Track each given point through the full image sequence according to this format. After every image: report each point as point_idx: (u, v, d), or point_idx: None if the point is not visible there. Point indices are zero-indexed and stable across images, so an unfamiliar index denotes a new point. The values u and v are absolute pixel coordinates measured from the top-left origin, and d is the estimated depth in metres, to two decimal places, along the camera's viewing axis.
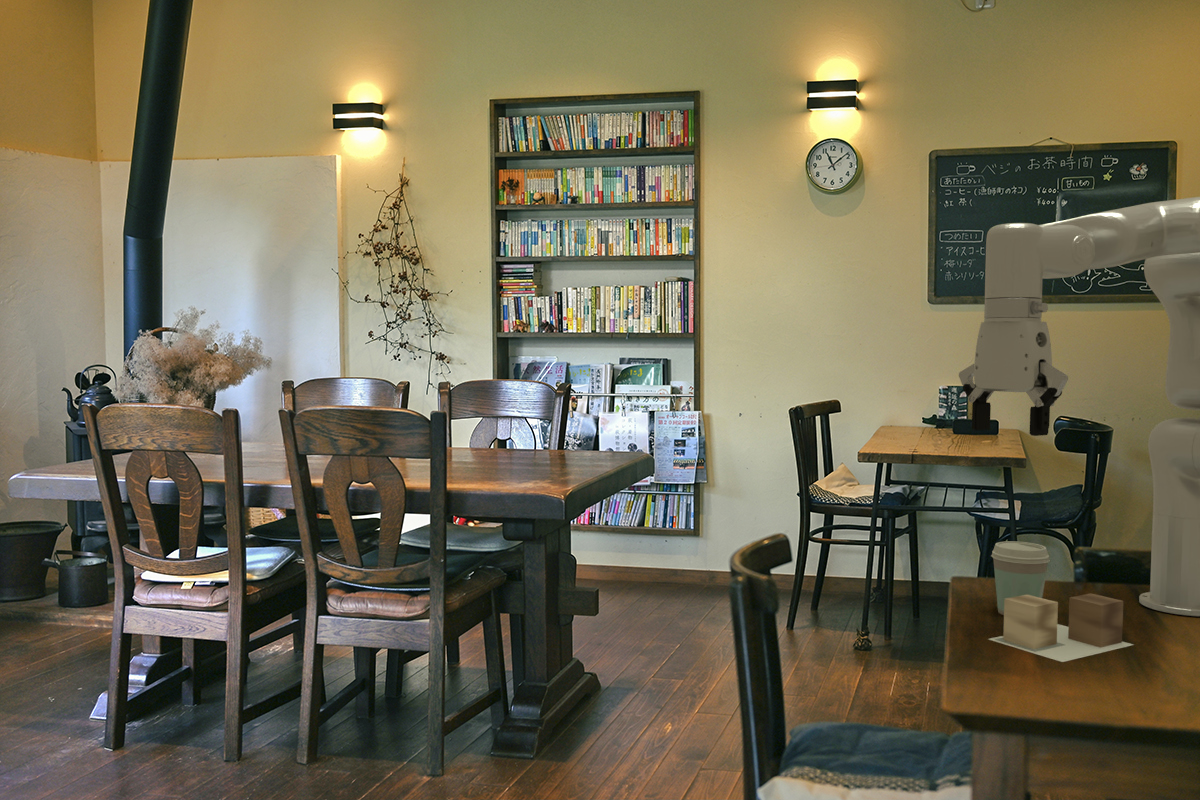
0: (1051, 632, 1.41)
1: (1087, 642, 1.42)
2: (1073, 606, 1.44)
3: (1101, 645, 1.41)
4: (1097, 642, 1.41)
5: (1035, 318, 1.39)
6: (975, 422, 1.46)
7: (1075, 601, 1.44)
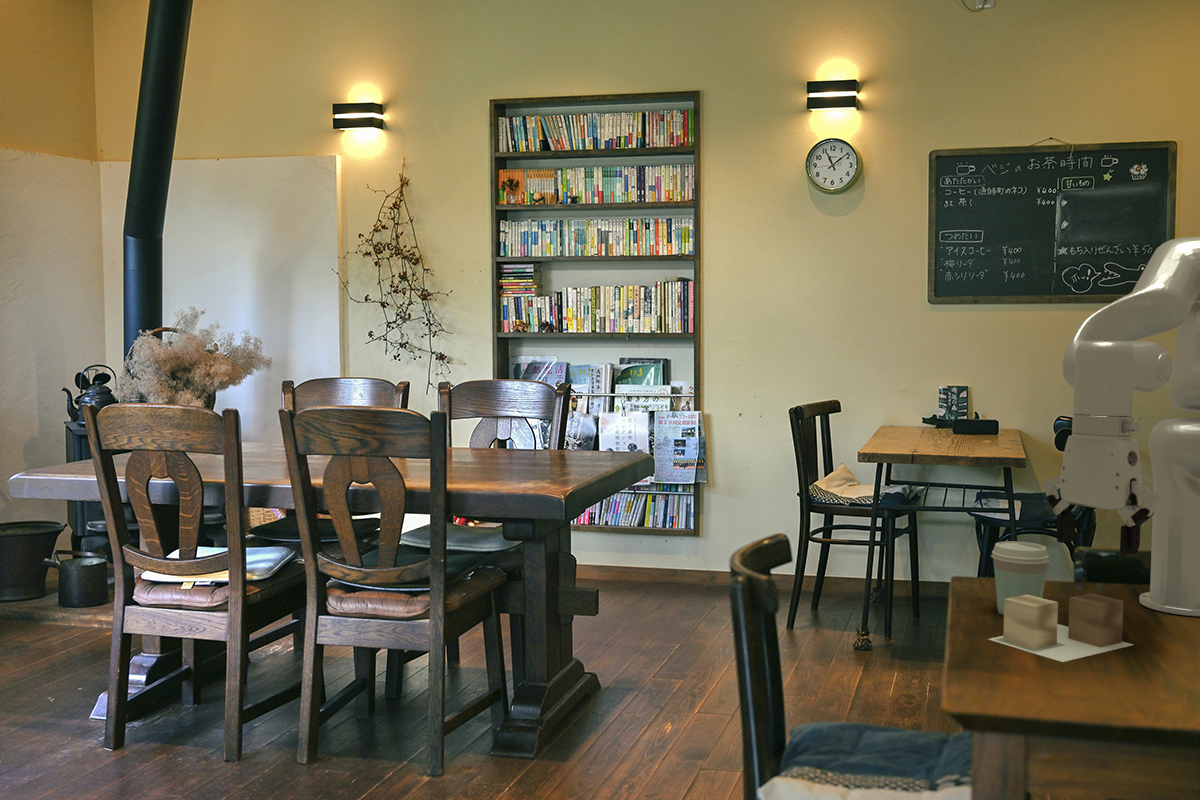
0: (1051, 632, 1.41)
1: (1087, 642, 1.42)
2: (1073, 606, 1.44)
3: (1101, 645, 1.41)
4: (1097, 642, 1.41)
5: (1126, 436, 1.39)
6: (1061, 535, 1.46)
7: (1075, 601, 1.44)
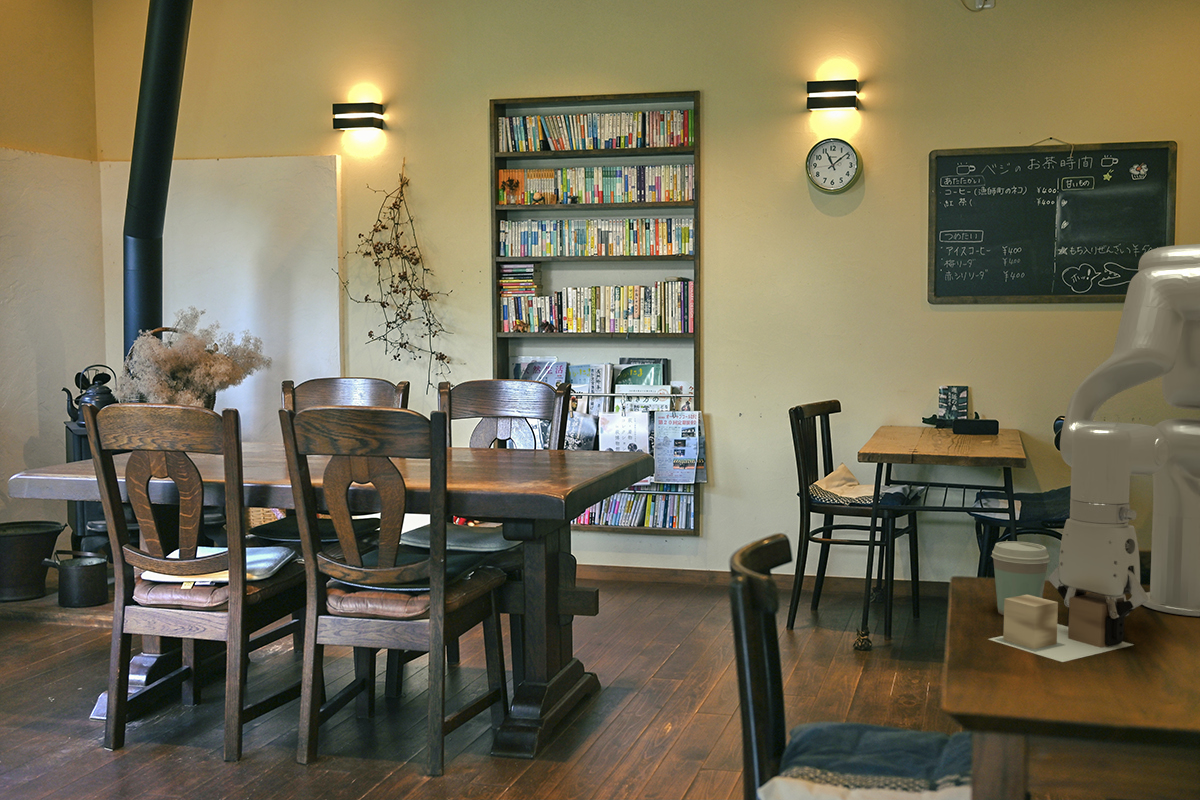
0: (1051, 632, 1.41)
1: (1087, 642, 1.42)
2: (1073, 606, 1.44)
3: (1101, 645, 1.41)
4: (1097, 642, 1.41)
5: (1123, 524, 1.40)
6: None
7: (1075, 601, 1.44)
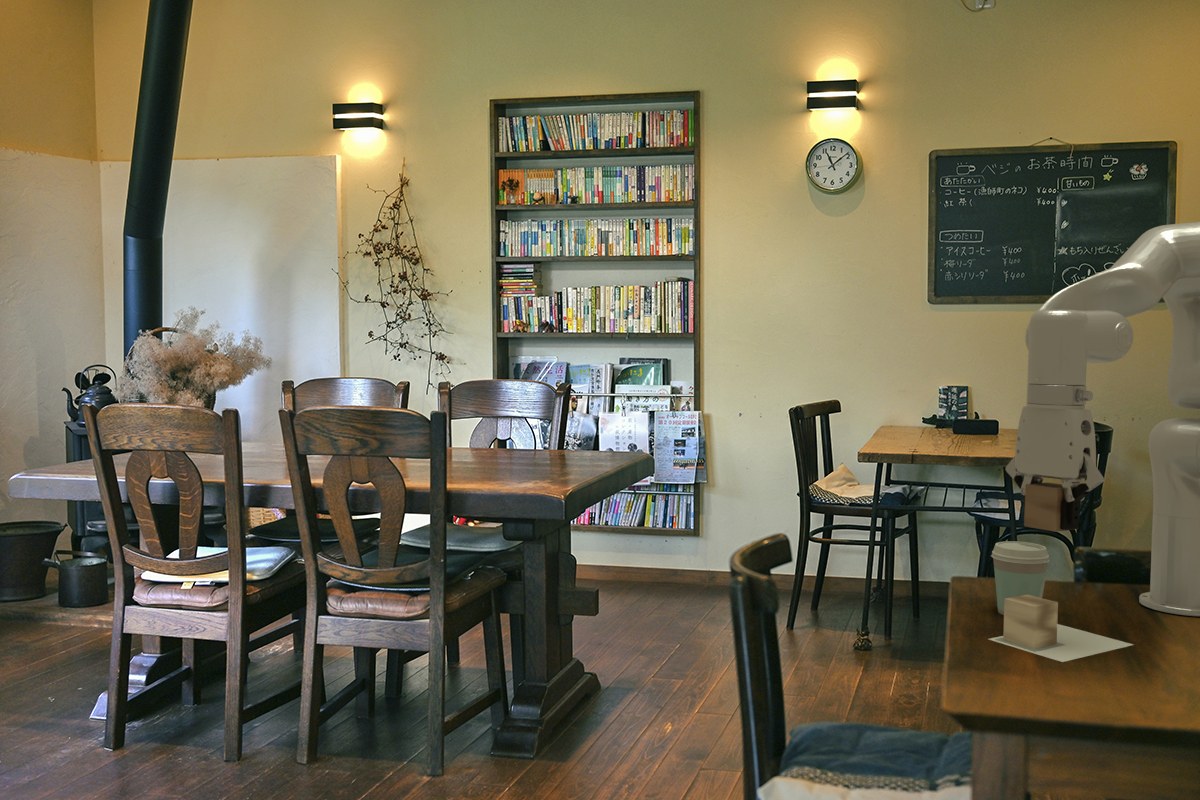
0: (1051, 632, 1.41)
1: (1043, 528, 1.40)
2: (1029, 492, 1.42)
3: (1056, 529, 1.39)
4: (1053, 526, 1.39)
5: (1079, 406, 1.38)
6: None
7: (1031, 487, 1.42)
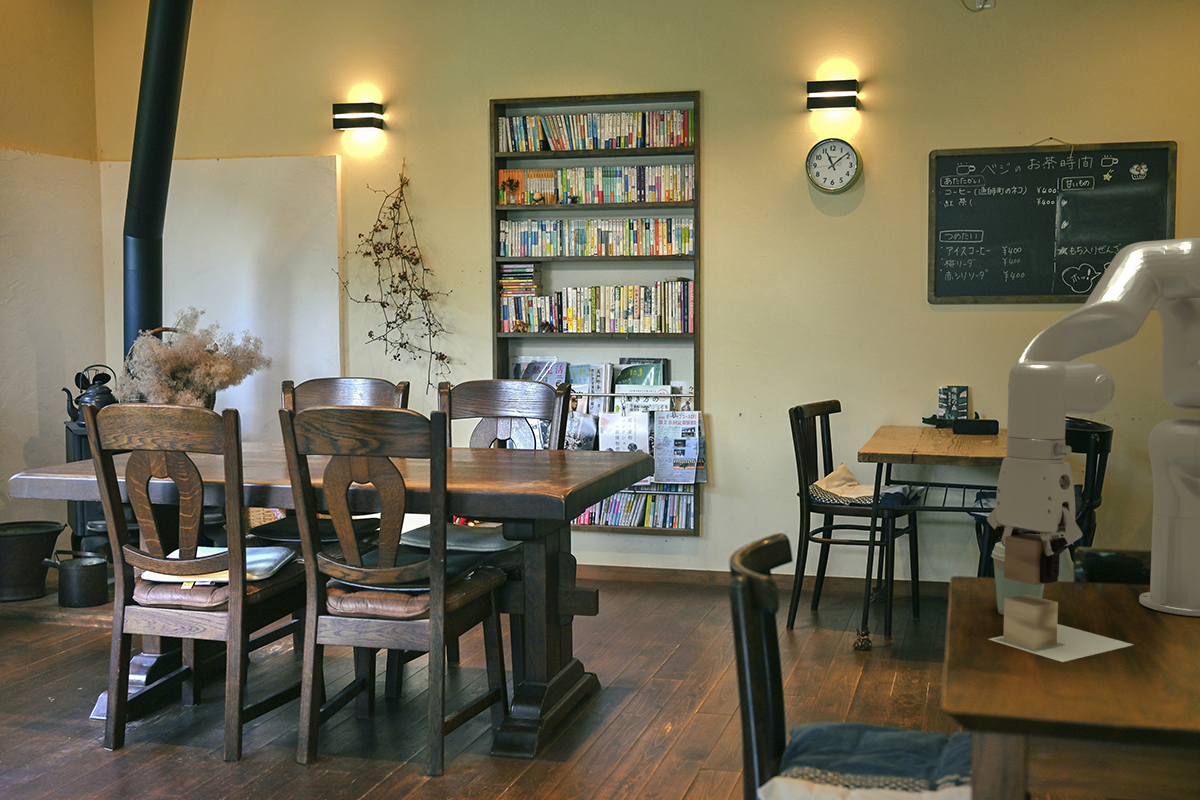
0: (1051, 632, 1.41)
1: (1022, 580, 1.41)
2: (1009, 545, 1.42)
3: (1035, 583, 1.39)
4: (1032, 579, 1.39)
5: (1058, 460, 1.38)
6: None
7: (1011, 540, 1.42)
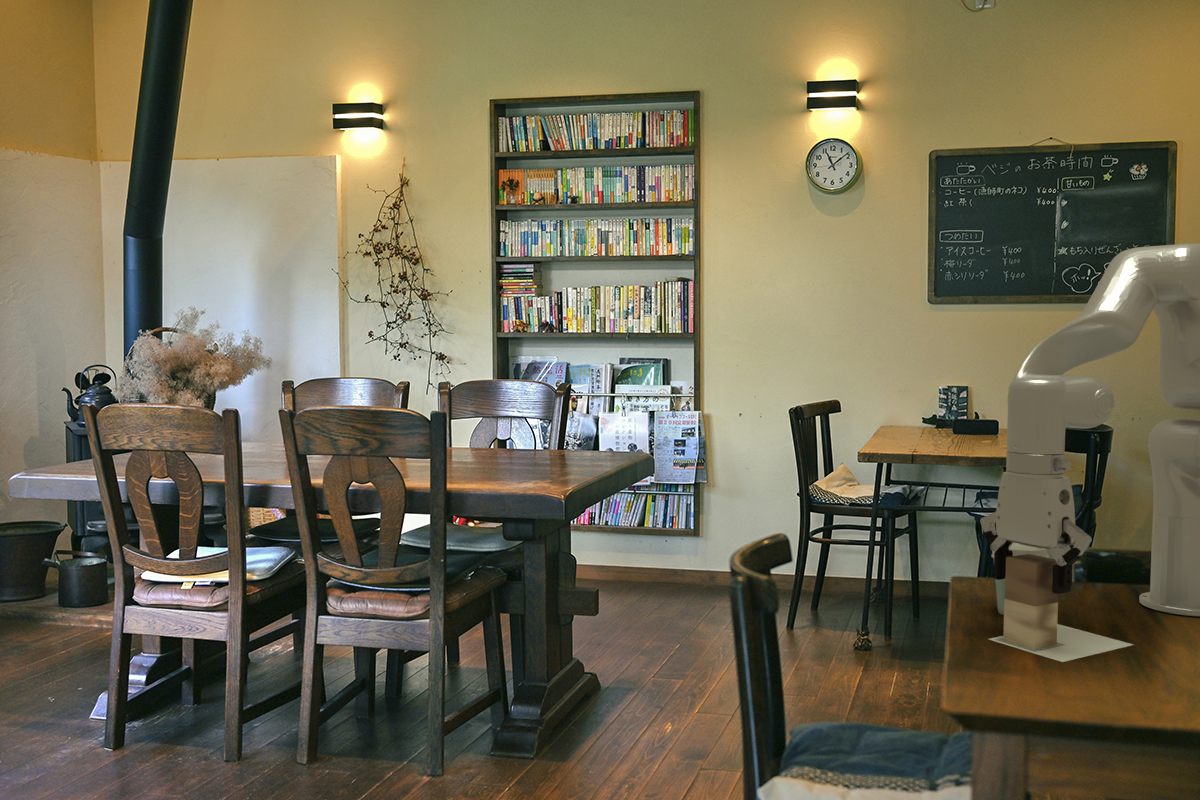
0: (1051, 632, 1.41)
1: (1023, 602, 1.41)
2: (1009, 566, 1.43)
3: (1036, 604, 1.39)
4: (1033, 601, 1.40)
5: (1058, 474, 1.38)
6: (998, 572, 1.46)
7: (1011, 561, 1.42)
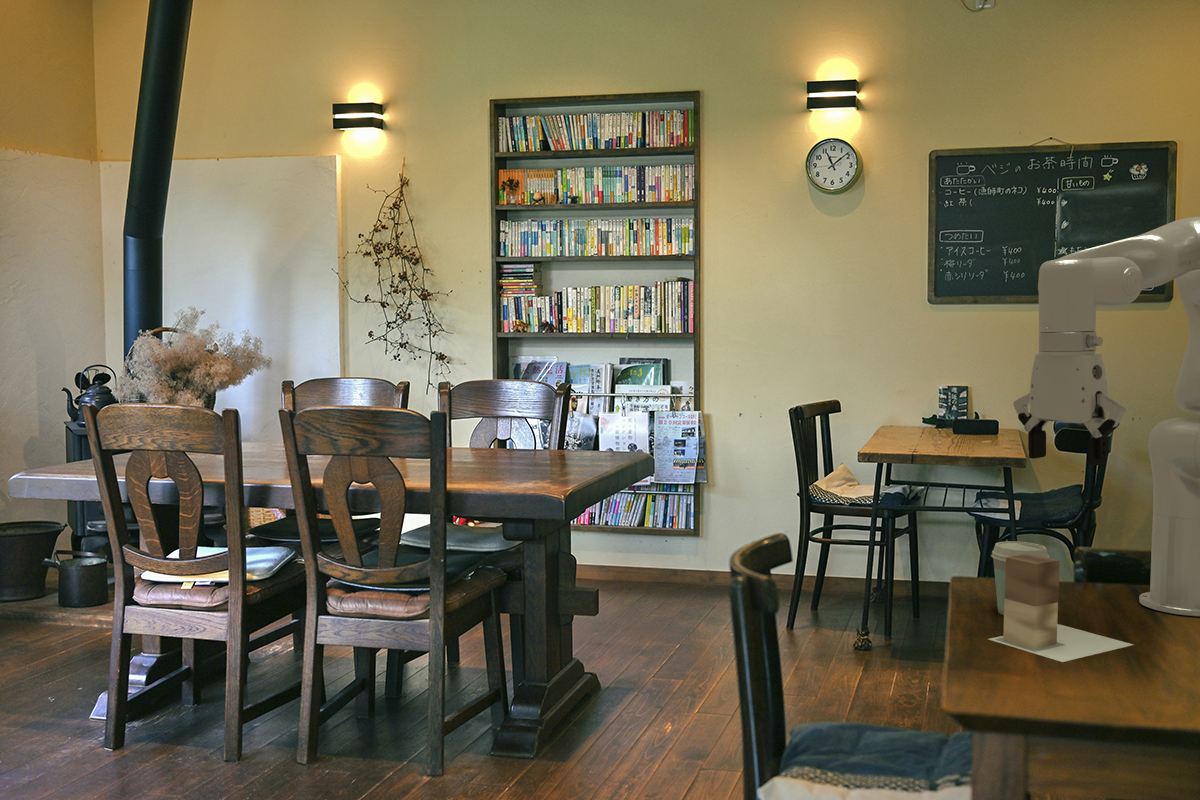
0: (1051, 632, 1.41)
1: (1023, 602, 1.41)
2: (1009, 566, 1.43)
3: (1036, 604, 1.39)
4: (1033, 601, 1.40)
5: (1090, 351, 1.43)
6: (1032, 451, 1.50)
7: (1011, 561, 1.42)
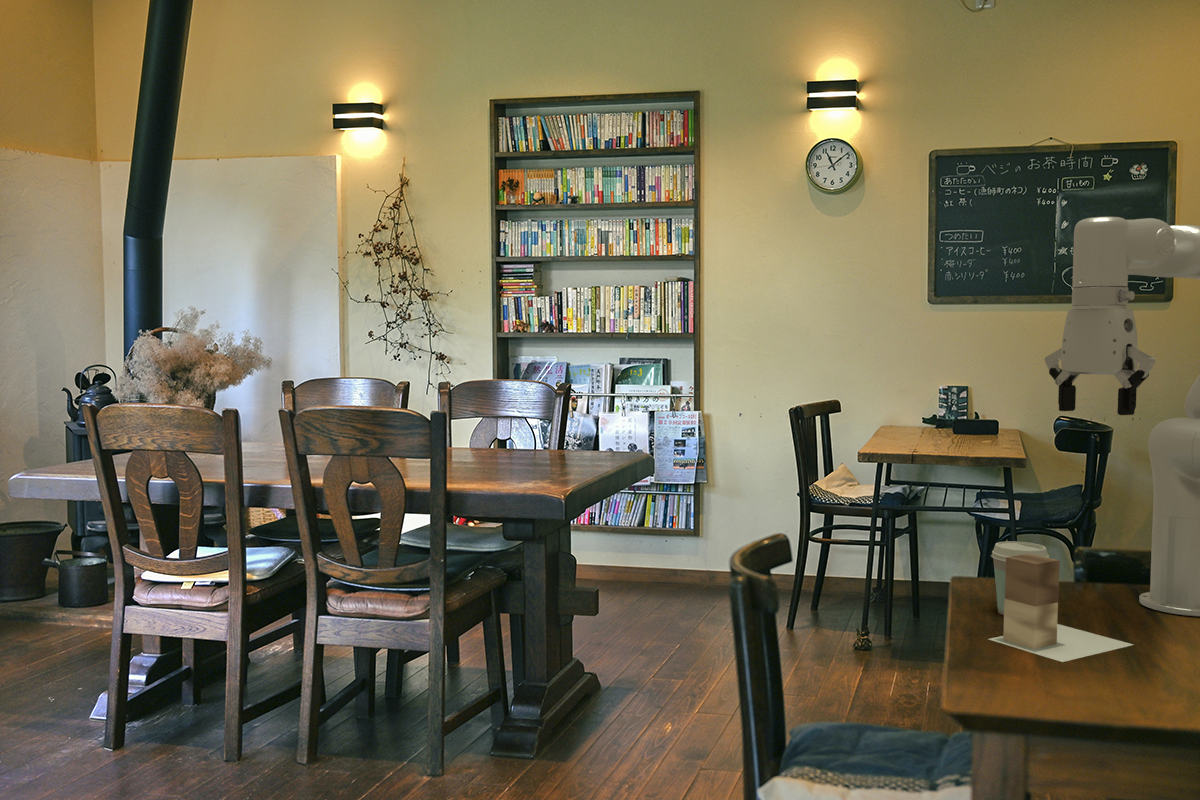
0: (1051, 632, 1.41)
1: (1023, 602, 1.41)
2: (1009, 566, 1.43)
3: (1036, 604, 1.39)
4: (1033, 601, 1.40)
5: (1122, 305, 1.49)
6: (1062, 403, 1.56)
7: (1011, 561, 1.42)
